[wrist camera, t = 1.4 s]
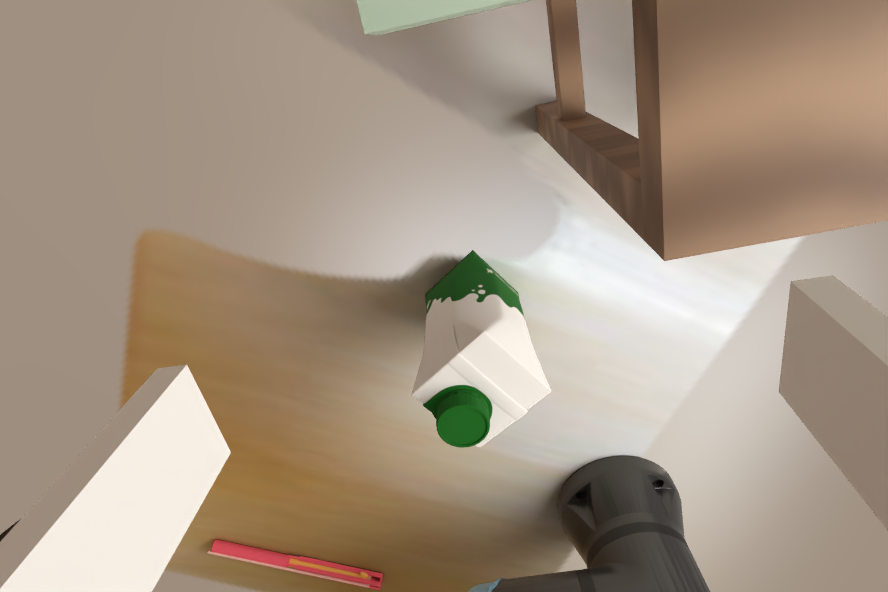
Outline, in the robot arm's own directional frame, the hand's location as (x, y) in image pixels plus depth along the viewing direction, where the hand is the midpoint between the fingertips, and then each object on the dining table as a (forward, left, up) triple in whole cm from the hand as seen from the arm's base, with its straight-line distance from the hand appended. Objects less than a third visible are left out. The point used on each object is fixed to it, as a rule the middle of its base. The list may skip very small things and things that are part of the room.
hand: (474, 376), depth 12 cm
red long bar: (-54, +33, -42) cm, 76 cm away
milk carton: (-18, +1, -42) cm, 45 cm away
